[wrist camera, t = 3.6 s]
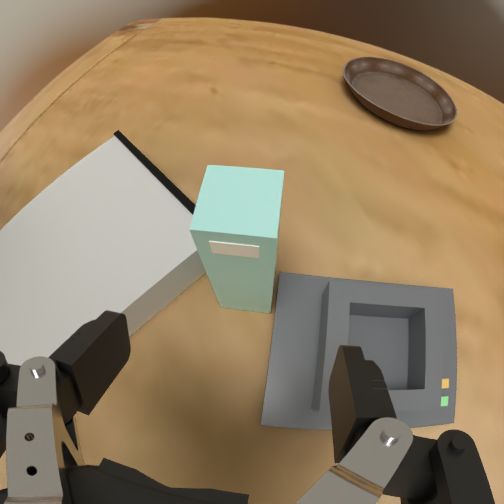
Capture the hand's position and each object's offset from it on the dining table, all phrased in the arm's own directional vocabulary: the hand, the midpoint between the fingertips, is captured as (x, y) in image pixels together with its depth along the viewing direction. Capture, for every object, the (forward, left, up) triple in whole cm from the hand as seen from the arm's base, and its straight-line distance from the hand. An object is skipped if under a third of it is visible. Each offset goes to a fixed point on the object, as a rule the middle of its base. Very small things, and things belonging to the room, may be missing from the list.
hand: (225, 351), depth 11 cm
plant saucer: (-24, +34, -13) cm, 43 cm away
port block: (+3, +10, -13) cm, 16 cm away
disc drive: (-14, -11, -13) cm, 22 cm away
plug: (-7, +3, -13) cm, 15 cm away
